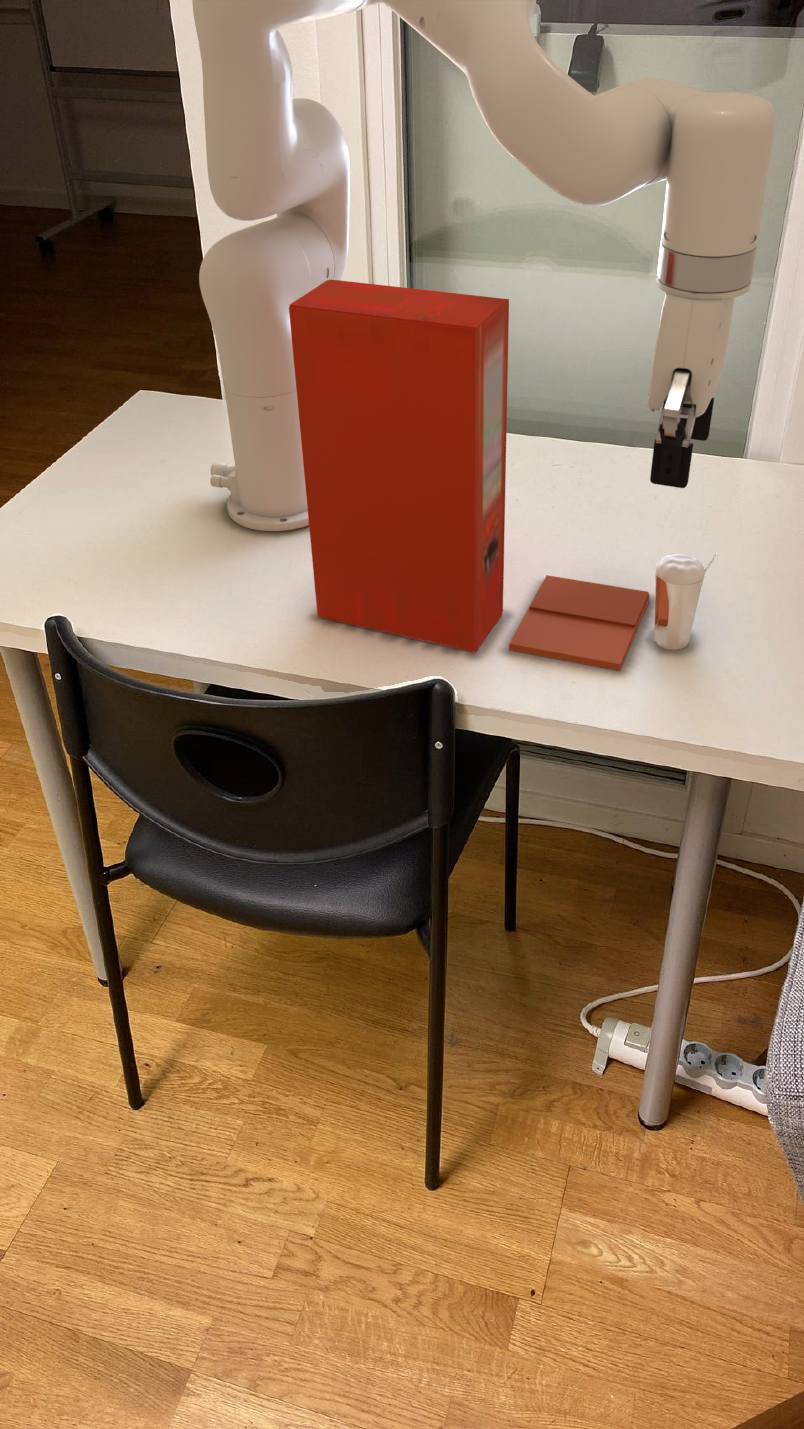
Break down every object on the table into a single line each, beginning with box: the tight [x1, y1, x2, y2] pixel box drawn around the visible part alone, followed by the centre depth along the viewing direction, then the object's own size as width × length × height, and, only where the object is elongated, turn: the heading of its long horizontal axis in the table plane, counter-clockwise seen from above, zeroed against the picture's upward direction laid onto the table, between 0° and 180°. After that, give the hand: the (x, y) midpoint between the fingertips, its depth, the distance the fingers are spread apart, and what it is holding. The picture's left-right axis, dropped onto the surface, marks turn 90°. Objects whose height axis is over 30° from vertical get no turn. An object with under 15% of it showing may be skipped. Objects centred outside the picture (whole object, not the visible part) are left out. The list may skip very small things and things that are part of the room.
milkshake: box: [653, 552, 718, 651], centre depth 112 cm, size 4×5×10 cm
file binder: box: [289, 279, 510, 653], centre depth 111 cm, size 8×17×32 cm, turn 65°
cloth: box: [508, 574, 651, 672], centre depth 118 cm, size 11×13×1 cm
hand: (679, 460), depth 106 cm, fingers open, 9 cm apart
